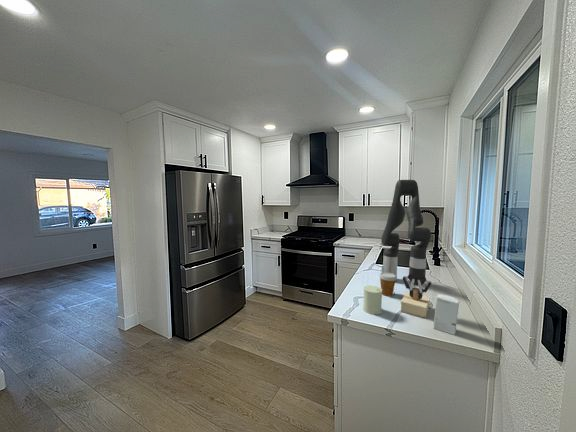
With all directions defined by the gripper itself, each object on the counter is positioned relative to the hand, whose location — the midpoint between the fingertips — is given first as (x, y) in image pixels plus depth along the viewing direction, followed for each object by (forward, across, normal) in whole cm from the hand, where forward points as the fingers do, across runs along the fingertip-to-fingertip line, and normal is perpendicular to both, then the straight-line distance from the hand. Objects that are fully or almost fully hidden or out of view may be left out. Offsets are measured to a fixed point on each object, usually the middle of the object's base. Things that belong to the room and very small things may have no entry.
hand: (415, 297), depth 124 cm
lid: (+2, 0, 0) cm, 2 cm away
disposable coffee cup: (+7, -17, +11) cm, 21 cm away
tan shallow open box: (+6, 0, 0) cm, 6 cm away
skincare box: (+7, +14, -12) cm, 20 cm away
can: (+7, -18, -14) cm, 24 cm away
